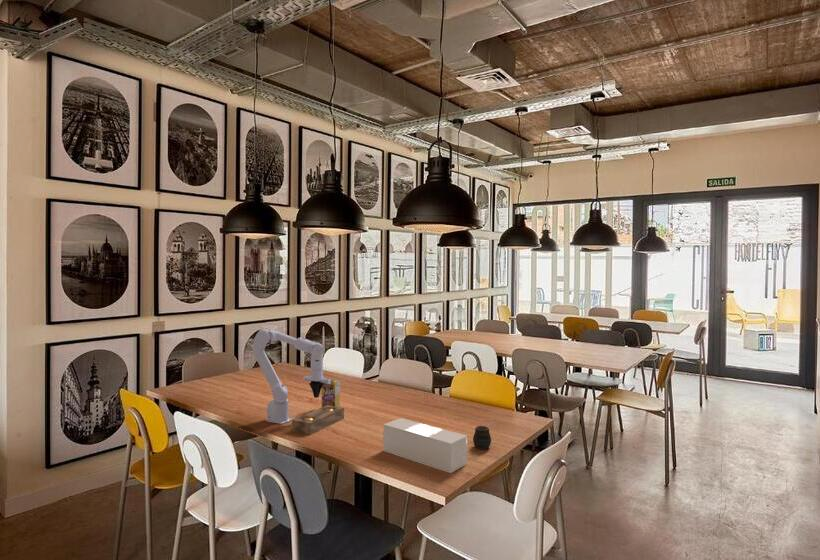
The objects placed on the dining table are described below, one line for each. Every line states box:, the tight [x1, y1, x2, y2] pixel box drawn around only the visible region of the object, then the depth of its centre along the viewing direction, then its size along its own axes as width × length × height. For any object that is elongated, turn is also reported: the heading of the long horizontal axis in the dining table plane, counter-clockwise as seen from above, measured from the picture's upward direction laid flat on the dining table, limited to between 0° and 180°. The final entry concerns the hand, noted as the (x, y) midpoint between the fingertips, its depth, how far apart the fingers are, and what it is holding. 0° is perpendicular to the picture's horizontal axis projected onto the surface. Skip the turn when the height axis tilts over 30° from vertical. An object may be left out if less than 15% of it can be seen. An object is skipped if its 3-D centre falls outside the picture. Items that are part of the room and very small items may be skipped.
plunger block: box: [291, 405, 345, 436], centre depth 219 cm, size 10×26×5 cm, turn 155°
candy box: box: [321, 377, 341, 407], centre depth 243 cm, size 9×4×15 cm, turn 60°
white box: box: [382, 417, 468, 474], centre depth 182 cm, size 32×11×11 cm, turn 51°
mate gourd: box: [472, 425, 492, 450], centre depth 193 cm, size 7×8×10 cm
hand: (316, 397), depth 227 cm, fingers closed
